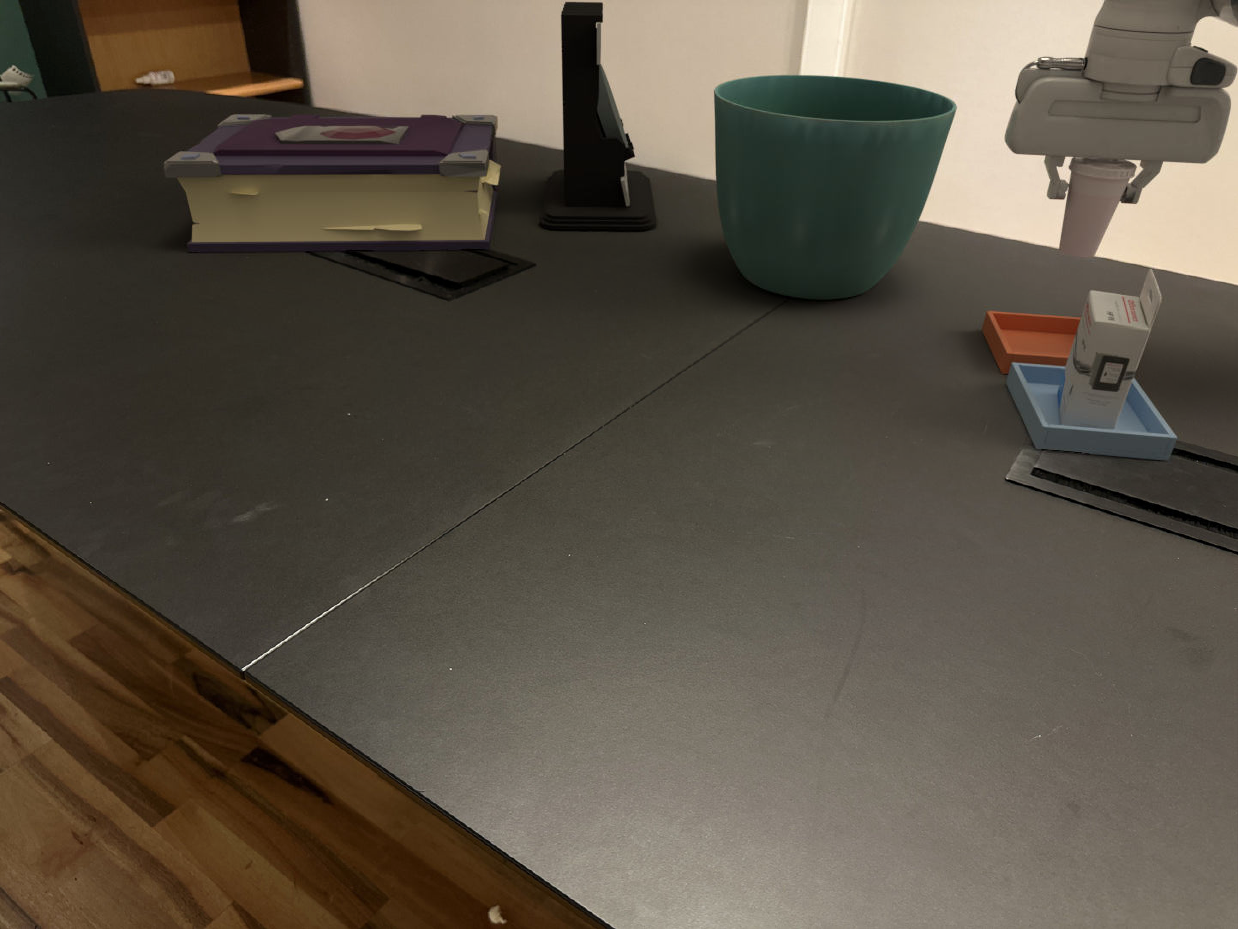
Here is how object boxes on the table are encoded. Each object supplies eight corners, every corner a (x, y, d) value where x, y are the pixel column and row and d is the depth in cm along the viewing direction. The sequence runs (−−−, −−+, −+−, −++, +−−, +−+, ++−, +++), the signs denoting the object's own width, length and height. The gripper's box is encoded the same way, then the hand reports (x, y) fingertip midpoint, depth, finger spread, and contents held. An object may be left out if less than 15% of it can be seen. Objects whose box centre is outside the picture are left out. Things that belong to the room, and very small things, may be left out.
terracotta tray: (1084, 337, 110) (1091, 318, 109) (1115, 383, 100) (1122, 361, 99) (981, 330, 112) (986, 310, 110) (1001, 374, 101) (1007, 353, 100)
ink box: (1055, 391, 97) (1097, 259, 89) (1105, 400, 95) (1152, 266, 87) (1059, 429, 90) (1104, 289, 82) (1113, 438, 88) (1164, 297, 80)
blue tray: (1121, 392, 98) (1129, 371, 97) (1168, 461, 86) (1177, 437, 85) (1005, 383, 99) (1011, 362, 98) (1035, 449, 88) (1043, 426, 86)
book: (248, 189, 158) (231, 105, 151) (505, 188, 161) (500, 105, 154) (184, 253, 130) (159, 154, 123) (496, 250, 133) (490, 153, 126)
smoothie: (1111, 265, 96) (1156, 127, 88) (1047, 257, 97) (1086, 121, 90) (1105, 246, 101) (1147, 115, 93) (1043, 239, 102) (1080, 109, 95)
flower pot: (908, 249, 136) (941, 79, 123) (930, 329, 112) (975, 126, 99) (711, 235, 141) (723, 69, 128) (690, 309, 116) (703, 112, 103)
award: (657, 231, 142) (665, 21, 126) (538, 230, 141) (531, 19, 125) (649, 179, 168) (654, -2, 151) (548, 178, 167) (543, -3, 151)
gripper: (1030, 60, 87) (996, 202, 95) (1256, 69, 85) (1203, 214, 92) (1016, 51, 92) (984, 186, 100) (1229, 59, 90) (1180, 197, 97)
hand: (1091, 200), depth 96 cm, fingers closed on smoothie, 6 cm apart
